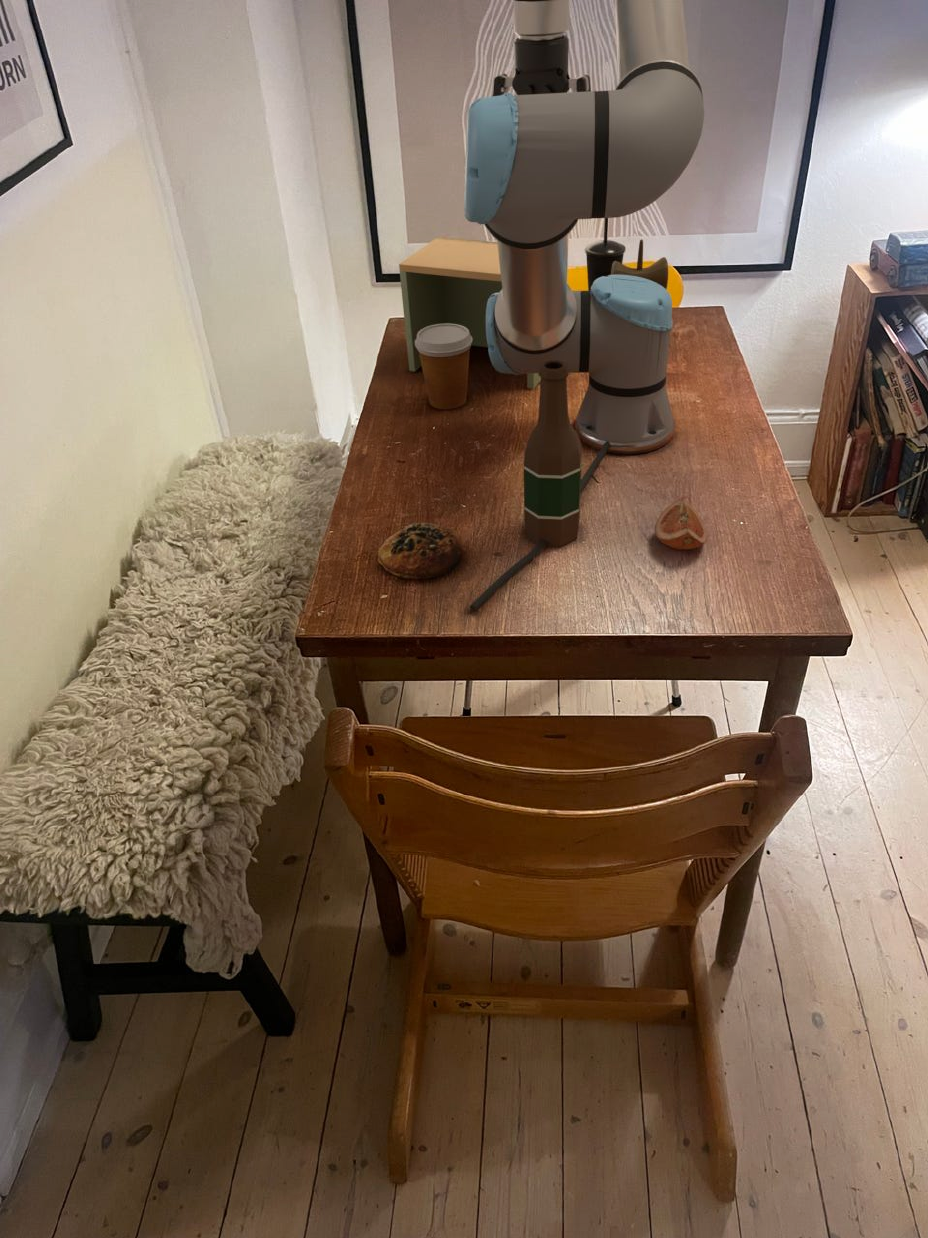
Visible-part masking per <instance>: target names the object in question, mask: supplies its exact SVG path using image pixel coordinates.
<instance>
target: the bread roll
mask: <svg viewBox="0 0 928 1238" xmlns="http://www.w3.org/2000/svg"><path fill="white" fill-rule="evenodd" d="M461 554H462V548H461V545H460V543H459V540H458V539H457V537H456V536H455V535H454V534H453V532H452V531H451V530H450V529H449V528H447V527H444V526H442V525H438V524H436V523H435V524H434V523H432V522H414V523H411V524H408V525H404V526H401V529H400V530H398V531H397V532H395V533H394V534H391V536H389V537H388V538H386V540H384V542H383V544H382V545H381V547H379V549H378V551H377V555H378V558H377V560H378V563H379V565H381V566H382V567H383V568H384V569H385V570H386V571H387V572H388V573H389V574H392V575H394V576H396V577H398V578H400V579H403V580H404V579H406V580H407V579H408V580H424V579H425V580H427V579H431V578H437V577H439V576H445V575H447V574H450V573H451V572H453V571H454V570H455V569H456V568H457V567H458V564H459V562H460V559H461Z"/></svg>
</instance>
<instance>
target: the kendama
mask: <svg viewBox="0 0 928 1238" xmlns="http://www.w3.org/2000/svg"><path fill="white" fill-rule="evenodd" d="M668 263H669V262H668V260H667V258H666V257H665V256H663V257H661V258H659V259H658V260H656V261H655V262H654V263H652V264H651V265H649V266H647V267H644V265H643V264H644V239H640V240H639V243H638V254H637V262H636V267H630V266H627V265H625V264H624V263H622V264H621V263H620V262H617V261H614V262H613V264H612V268H611V275H630V276H637V277H641V278H645V279H648V280H651V281H653V282H655V283H657V284H659V285H661V286H663V287H664V288H665V289H666V290H667V289H668V283H669V264H668Z"/></svg>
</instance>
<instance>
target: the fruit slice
mask: <svg viewBox="0 0 928 1238" xmlns="http://www.w3.org/2000/svg"><path fill="white" fill-rule="evenodd" d="M654 534H655V535H656V537H657V539H658V540H659V541H660V542H661V543H662V544H664V545H666V546H669V547H670V548H672V549H677V550H692V549H697V548H700V547H702V546H703V545H705V544H706V543H707V541H708V534H707V530H706V528H705V526H704V524H703V522H702V519H701V518H700V516H699V514H698V512H696V510H695V509H694V507H693V506H692V504H691V503H690V502H689V500H687V499H686V498H685V497H684V496H681V497H679V498H678V499H677V500H676V501H673V502H672V503H670V504H669V506H667V507H666V508H665V509H664V510H663V511H662V512H661V513H660V515H659V517H658V518H657V519H656V523H655V526H654Z"/></svg>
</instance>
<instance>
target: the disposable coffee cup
mask: <svg viewBox="0 0 928 1238" xmlns="http://www.w3.org/2000/svg"><path fill="white" fill-rule="evenodd" d="M472 340H473V339H472V337H471V335H470V333H469V330H468V329H467V328H466V327H464V326H462V325H458V324H449V323H444V324H435V325H431V326H427V327H425V328H423V329H421V330H420V331H419V332H418V333H417V339H416V340H415V346H416V348H417V350H418V351H419V356H420V360H421V365H422V366H421V369H422V374H423V379H424V384H425V388H426V392H427V396H428V397H427V398H428V403H429V405H430V406H431V407H433V408H435V409H439V410H453V409H457V408H460V407H462V406H463V405H464V404H466V401H467V394H468V393H467V391H468V381H469V380H468V378H469V366H470V365H469V364H470V352H471V351H470V350H471V347H472V345H471V343H472Z"/></svg>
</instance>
